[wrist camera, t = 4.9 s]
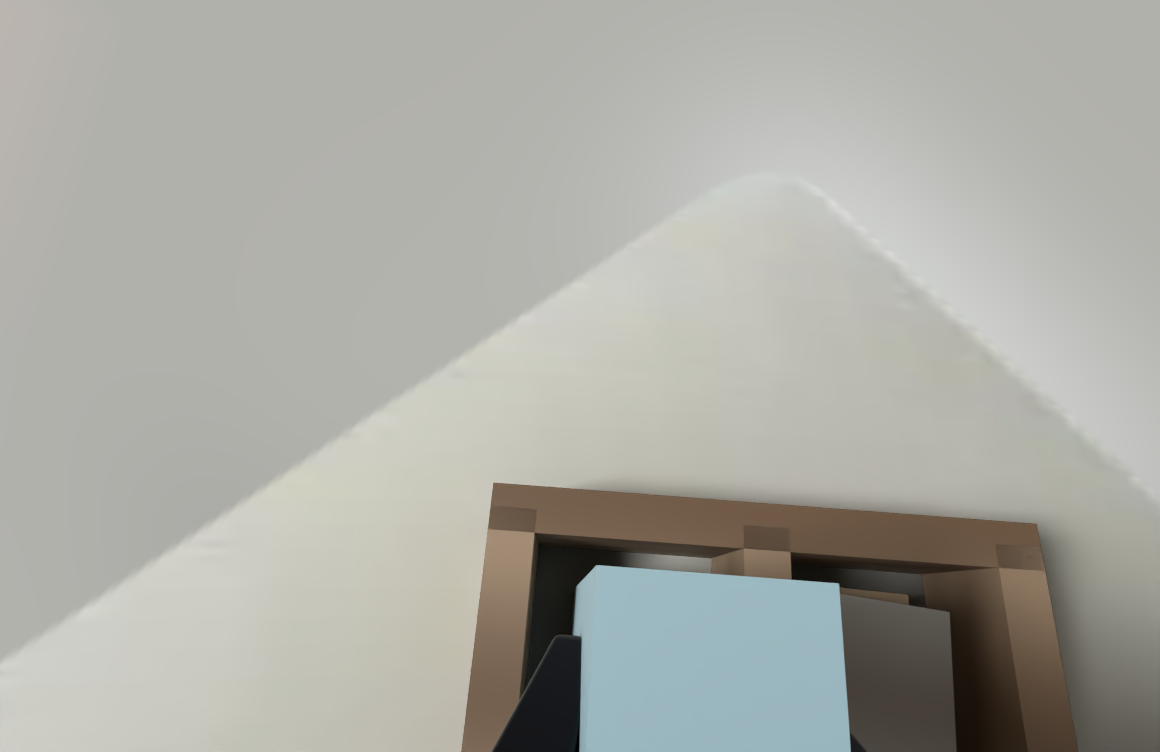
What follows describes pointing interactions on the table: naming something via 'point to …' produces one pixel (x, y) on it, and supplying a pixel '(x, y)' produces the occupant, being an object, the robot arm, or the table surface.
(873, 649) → the offcut upper
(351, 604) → the table surface
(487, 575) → the rack
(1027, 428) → the table surface
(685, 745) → the pale blue tall box
